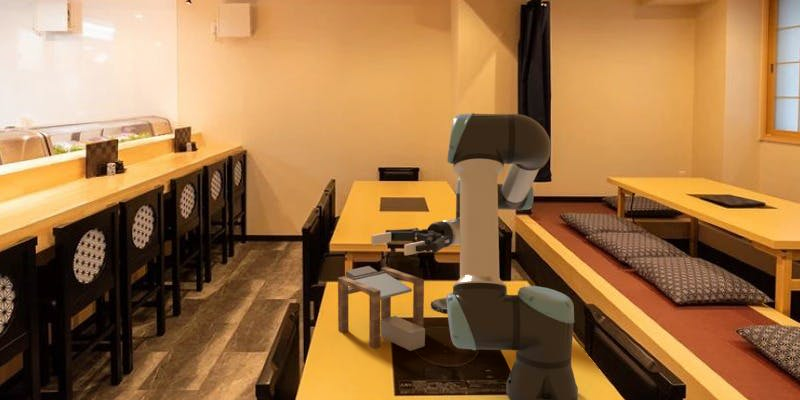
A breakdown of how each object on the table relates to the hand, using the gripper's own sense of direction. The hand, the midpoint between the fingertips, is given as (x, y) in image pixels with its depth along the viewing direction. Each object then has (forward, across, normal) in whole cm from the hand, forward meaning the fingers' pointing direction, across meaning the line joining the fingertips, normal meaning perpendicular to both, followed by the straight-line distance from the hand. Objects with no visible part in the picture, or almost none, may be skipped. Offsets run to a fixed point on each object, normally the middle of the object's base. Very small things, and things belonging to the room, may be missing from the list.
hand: (387, 245), depth 166 cm
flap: (0, +5, -12) cm, 13 cm away
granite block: (0, 0, -23) cm, 23 cm away
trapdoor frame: (0, +3, -25) cm, 25 cm away
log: (-29, +5, -26) cm, 39 cm away
